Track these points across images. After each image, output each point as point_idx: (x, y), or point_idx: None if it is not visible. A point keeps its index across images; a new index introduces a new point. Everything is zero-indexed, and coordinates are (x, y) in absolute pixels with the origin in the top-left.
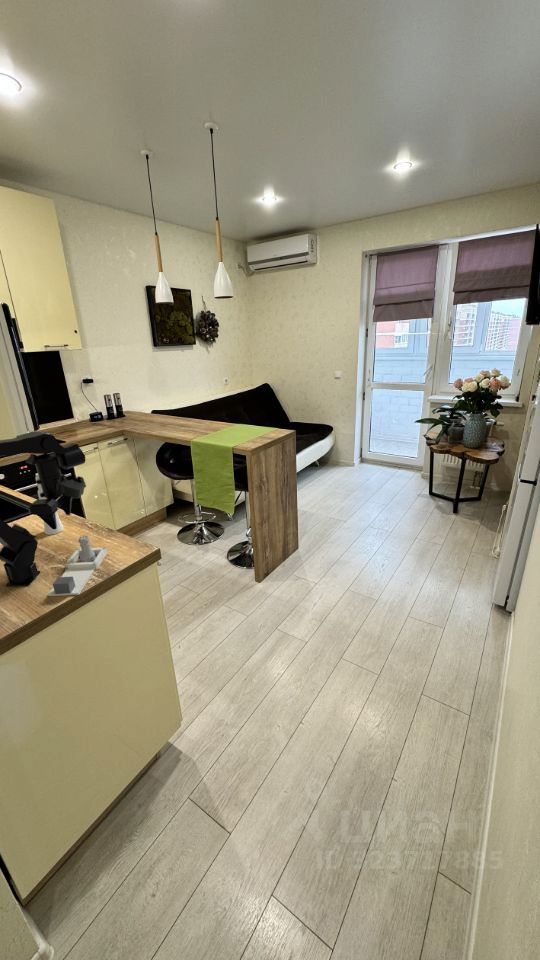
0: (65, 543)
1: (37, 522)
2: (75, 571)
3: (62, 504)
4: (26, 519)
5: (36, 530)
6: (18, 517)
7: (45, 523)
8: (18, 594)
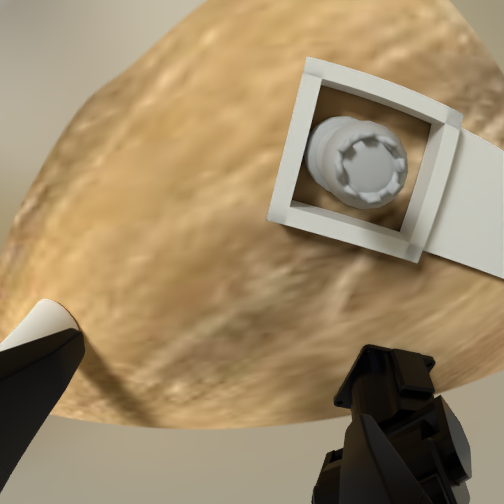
0: (144, 283)
1: None
2: (448, 207)
3: (23, 432)
4: None
5: None
6: None
7: None
8: (459, 369)
